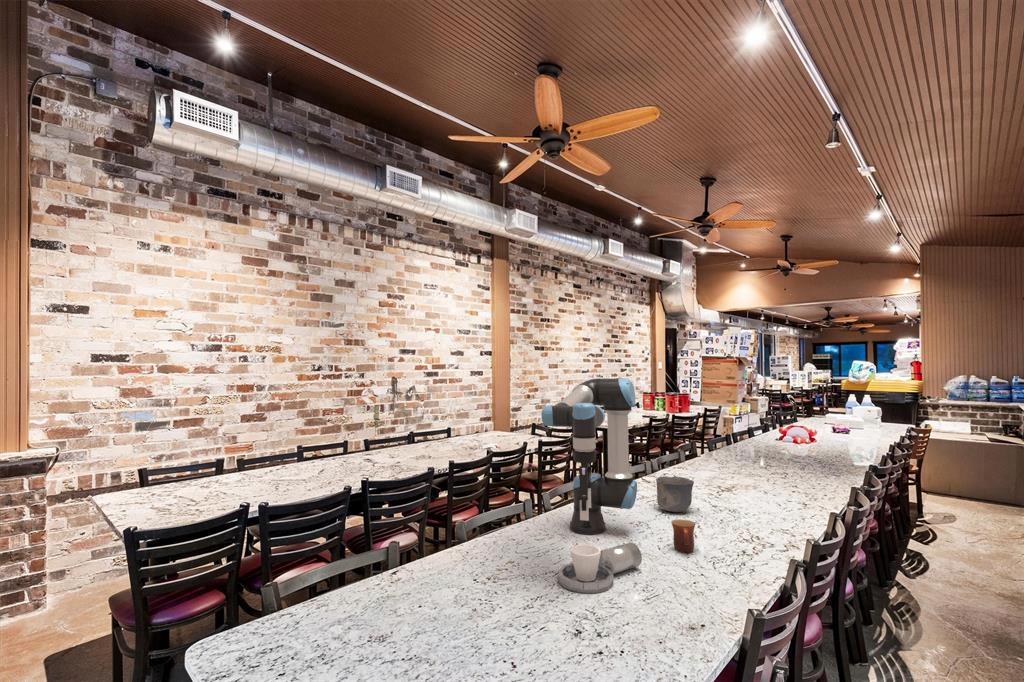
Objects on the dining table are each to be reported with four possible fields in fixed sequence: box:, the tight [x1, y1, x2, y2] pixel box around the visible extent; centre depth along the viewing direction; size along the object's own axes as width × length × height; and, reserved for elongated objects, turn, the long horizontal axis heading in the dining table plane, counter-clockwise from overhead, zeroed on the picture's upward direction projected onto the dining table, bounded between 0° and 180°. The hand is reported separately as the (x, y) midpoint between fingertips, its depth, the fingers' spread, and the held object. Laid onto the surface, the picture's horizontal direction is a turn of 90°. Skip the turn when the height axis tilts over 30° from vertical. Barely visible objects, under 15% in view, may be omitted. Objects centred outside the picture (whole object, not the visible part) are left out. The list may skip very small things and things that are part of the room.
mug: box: [671, 518, 696, 554], centre depth 189 cm, size 12×9×10 cm
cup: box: [569, 543, 601, 582], centre depth 164 cm, size 10×10×9 cm
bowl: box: [655, 475, 695, 513], centre depth 240 cm, size 18×18×15 cm
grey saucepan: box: [557, 542, 643, 595], centre depth 167 cm, size 31×18×8 cm, turn 123°
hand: (585, 513), depth 167 cm, fingers open, 13 cm apart
